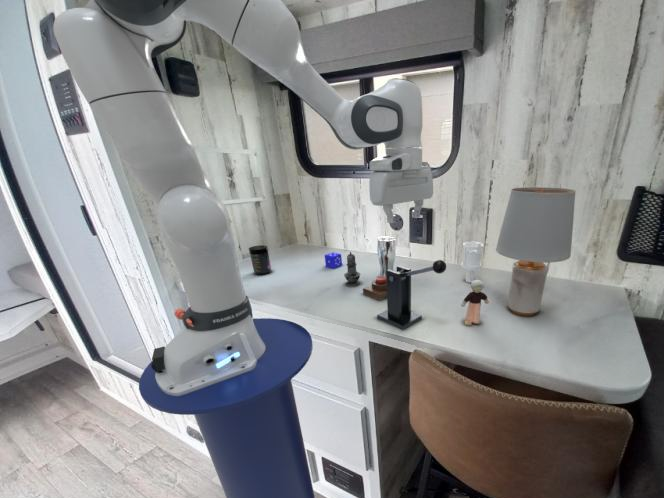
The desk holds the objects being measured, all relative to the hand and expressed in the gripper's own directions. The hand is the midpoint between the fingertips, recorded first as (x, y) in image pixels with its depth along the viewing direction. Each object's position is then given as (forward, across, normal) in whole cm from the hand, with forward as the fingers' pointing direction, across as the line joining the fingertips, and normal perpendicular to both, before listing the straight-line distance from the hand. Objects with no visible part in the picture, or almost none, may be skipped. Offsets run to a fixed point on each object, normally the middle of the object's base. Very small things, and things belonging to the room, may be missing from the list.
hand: (404, 220), depth 80 cm
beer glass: (+27, -18, -25) cm, 41 cm away
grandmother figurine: (+27, -8, +18) cm, 34 cm away
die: (+27, -12, -52) cm, 60 cm away
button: (+23, -6, -16) cm, 29 cm away
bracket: (+27, +4, +2) cm, 27 cm away
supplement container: (+27, +12, -66) cm, 73 cm away
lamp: (+27, -24, +25) cm, 44 cm away
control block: (+27, -6, -16) cm, 32 cm away
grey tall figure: (+27, -4, -30) cm, 40 cm away
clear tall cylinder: (+27, -35, +1) cm, 44 cm away
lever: (+13, +4, +9) cm, 16 cm away
